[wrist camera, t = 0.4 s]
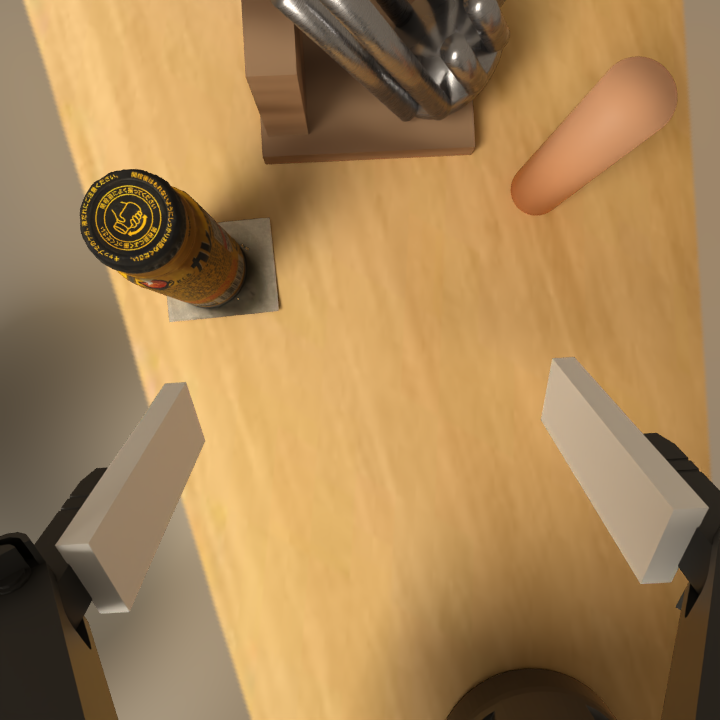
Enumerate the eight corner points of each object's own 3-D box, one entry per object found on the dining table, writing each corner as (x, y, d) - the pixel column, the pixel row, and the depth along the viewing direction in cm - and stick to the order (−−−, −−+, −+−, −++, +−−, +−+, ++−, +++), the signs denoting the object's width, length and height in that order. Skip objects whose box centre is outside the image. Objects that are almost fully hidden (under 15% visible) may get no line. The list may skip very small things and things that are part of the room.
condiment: (161, 228, 33) (52, 154, 21) (270, 218, 33) (223, 139, 21) (170, 322, 33) (67, 301, 21) (279, 311, 33) (238, 284, 21)
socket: (485, 142, 33) (588, -25, 19) (285, 151, 33) (232, -11, 19) (478, 11, 33) (576, -257, 19) (277, 19, 33) (219, -246, 19)
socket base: (470, 154, 33) (508, 90, 25) (266, 164, 33) (238, 102, 25) (462, 1, 33) (497, -112, 25) (257, 9, 33) (226, -102, 25)
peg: (562, 214, 34) (679, 134, 22) (512, 216, 34) (601, 137, 22) (559, 163, 34) (675, 54, 22) (509, 165, 34) (597, 58, 22)
